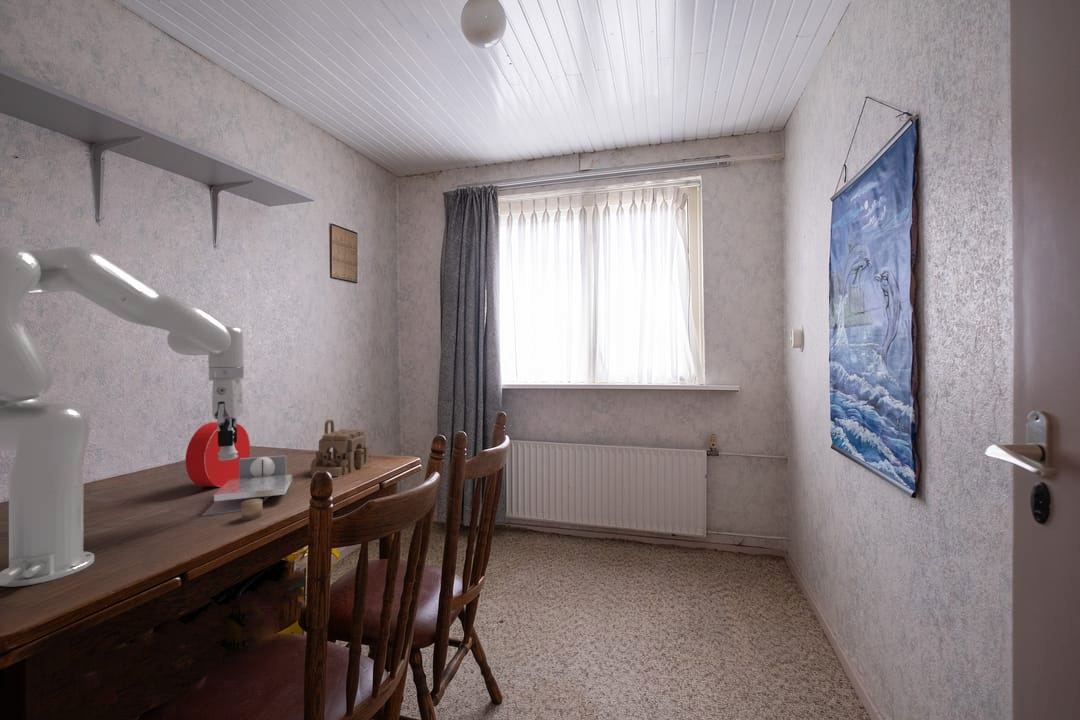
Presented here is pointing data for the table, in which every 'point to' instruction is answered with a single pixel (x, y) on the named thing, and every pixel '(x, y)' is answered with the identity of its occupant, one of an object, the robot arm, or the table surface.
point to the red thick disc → (214, 456)
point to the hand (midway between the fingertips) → (227, 443)
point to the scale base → (250, 470)
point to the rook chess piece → (228, 452)
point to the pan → (254, 487)
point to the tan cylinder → (251, 509)
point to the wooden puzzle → (341, 451)
